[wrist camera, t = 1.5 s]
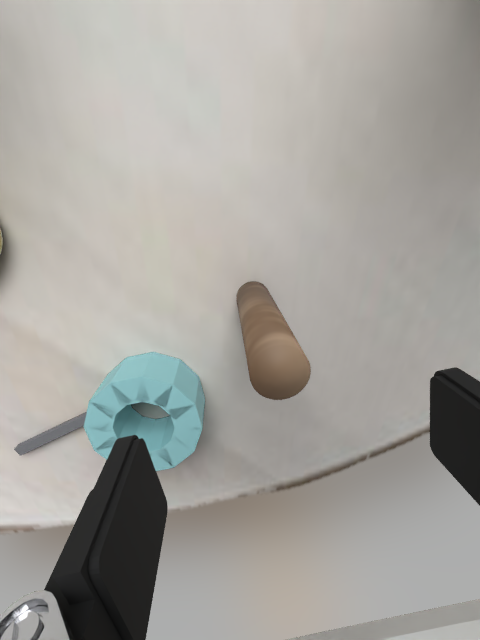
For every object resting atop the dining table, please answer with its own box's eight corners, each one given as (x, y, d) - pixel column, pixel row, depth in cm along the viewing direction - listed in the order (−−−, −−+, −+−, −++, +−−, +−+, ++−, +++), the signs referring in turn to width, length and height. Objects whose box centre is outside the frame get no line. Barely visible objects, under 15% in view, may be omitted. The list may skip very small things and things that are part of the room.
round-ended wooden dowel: (266, 278, 24) (306, 339, 13) (271, 309, 25) (313, 393, 14) (233, 285, 24) (244, 352, 13) (240, 316, 25) (255, 404, 14)
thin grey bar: (100, 405, 27) (97, 409, 26) (105, 412, 27) (103, 416, 27) (18, 444, 28) (14, 449, 27) (24, 450, 28) (20, 455, 27)
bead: (190, 344, 25) (184, 367, 22) (212, 426, 28) (211, 460, 25) (90, 364, 26) (67, 391, 22) (123, 444, 28) (108, 480, 25)
